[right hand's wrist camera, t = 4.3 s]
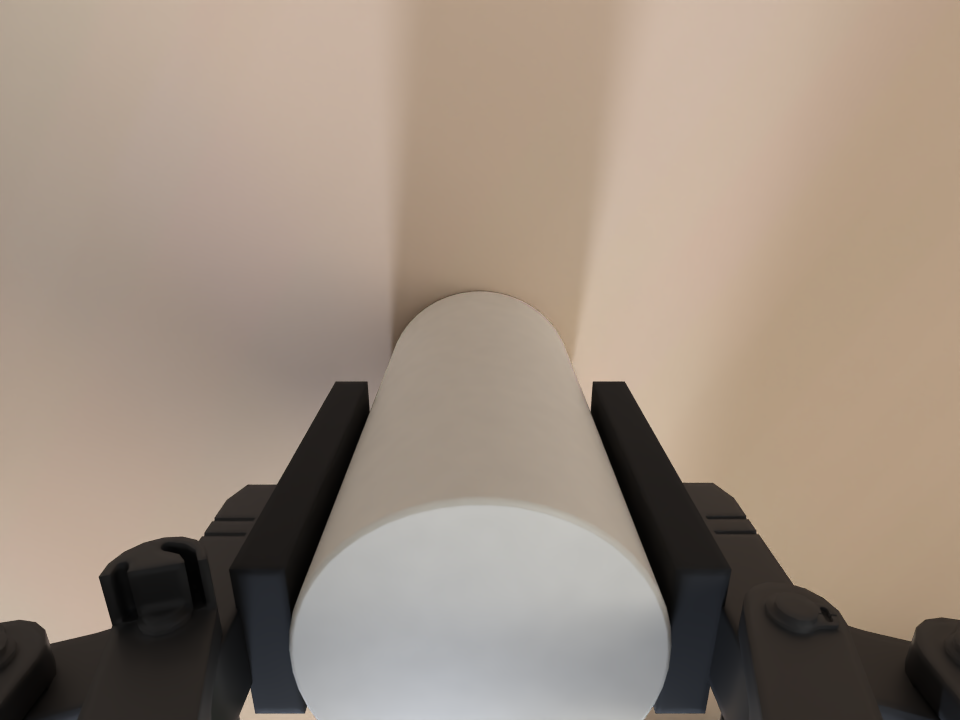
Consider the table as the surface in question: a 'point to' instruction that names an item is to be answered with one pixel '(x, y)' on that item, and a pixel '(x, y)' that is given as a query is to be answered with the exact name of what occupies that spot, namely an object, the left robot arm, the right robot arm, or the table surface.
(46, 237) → the table surface
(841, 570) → the table surface
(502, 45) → the table surface
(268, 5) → the table surface
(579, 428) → the canister
